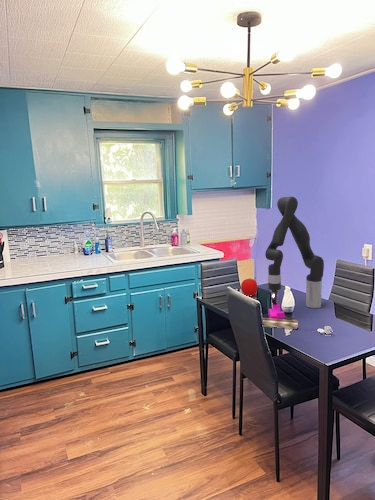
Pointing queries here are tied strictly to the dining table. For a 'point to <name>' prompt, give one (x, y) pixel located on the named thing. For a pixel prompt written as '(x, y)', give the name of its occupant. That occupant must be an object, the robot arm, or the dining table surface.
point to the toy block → (276, 312)
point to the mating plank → (280, 323)
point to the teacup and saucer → (325, 330)
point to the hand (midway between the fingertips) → (274, 308)
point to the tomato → (249, 287)
